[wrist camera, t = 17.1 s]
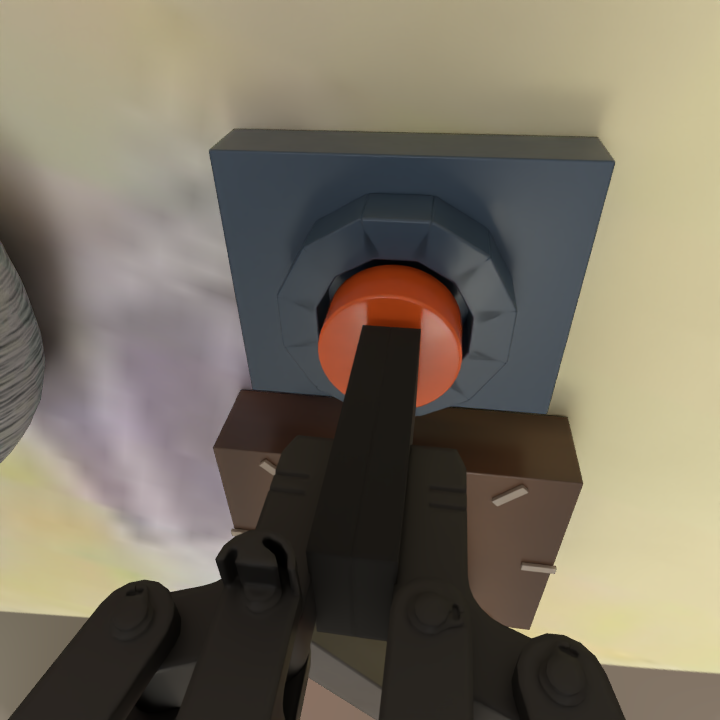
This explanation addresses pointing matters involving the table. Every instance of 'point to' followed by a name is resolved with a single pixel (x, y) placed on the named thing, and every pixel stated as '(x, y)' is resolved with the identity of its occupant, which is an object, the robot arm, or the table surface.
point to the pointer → (349, 668)
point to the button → (395, 324)
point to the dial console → (484, 484)
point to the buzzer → (412, 245)
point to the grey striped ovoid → (17, 358)
